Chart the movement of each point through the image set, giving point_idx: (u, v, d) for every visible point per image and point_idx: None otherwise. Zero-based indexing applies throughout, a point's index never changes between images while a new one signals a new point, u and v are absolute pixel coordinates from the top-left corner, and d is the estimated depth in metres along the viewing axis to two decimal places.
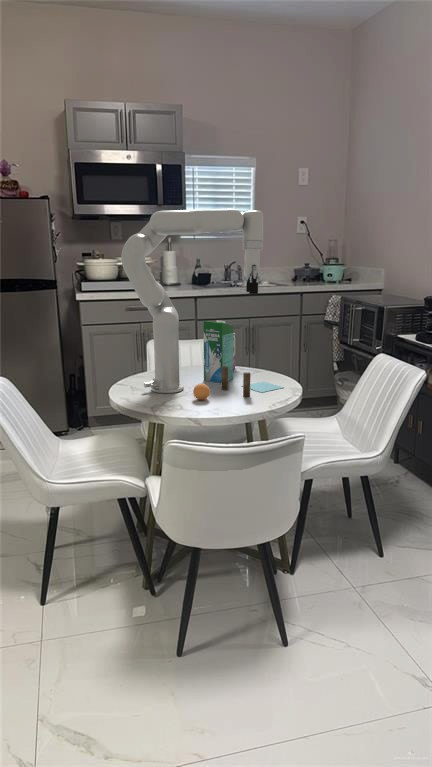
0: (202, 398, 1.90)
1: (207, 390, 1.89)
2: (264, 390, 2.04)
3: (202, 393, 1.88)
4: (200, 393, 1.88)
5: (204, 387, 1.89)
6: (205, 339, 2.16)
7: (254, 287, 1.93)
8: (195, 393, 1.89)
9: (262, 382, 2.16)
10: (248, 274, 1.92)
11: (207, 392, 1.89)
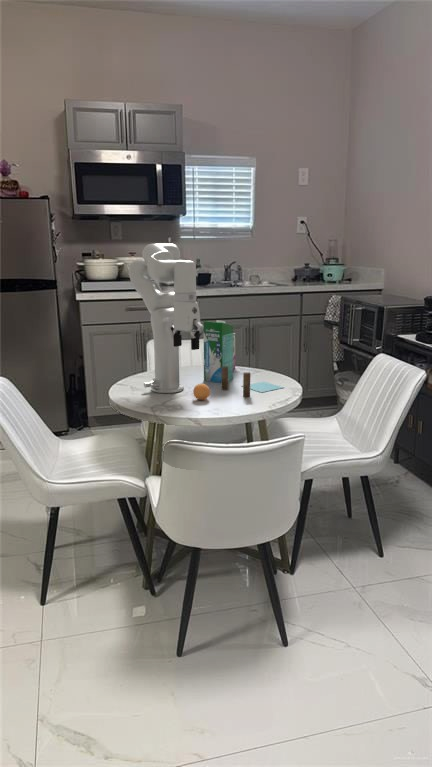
0: (202, 398, 1.90)
1: (207, 390, 1.89)
2: (264, 390, 2.04)
3: (202, 393, 1.88)
4: (200, 393, 1.88)
5: (204, 387, 1.89)
6: (205, 339, 2.16)
7: None
8: (195, 393, 1.89)
9: (262, 382, 2.16)
10: None
11: (207, 392, 1.89)
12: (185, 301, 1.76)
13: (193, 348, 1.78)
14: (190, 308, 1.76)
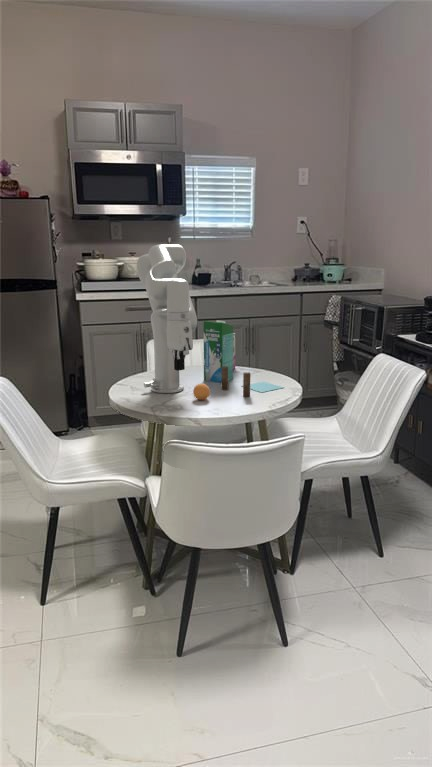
0: (202, 398, 1.90)
1: (207, 390, 1.89)
2: (264, 390, 2.04)
3: (202, 393, 1.88)
4: (200, 393, 1.88)
5: (204, 387, 1.89)
6: (205, 339, 2.16)
7: None
8: (195, 393, 1.89)
9: (262, 382, 2.16)
10: None
11: (207, 392, 1.89)
12: (177, 320, 1.75)
13: (178, 369, 1.81)
14: (182, 327, 1.75)
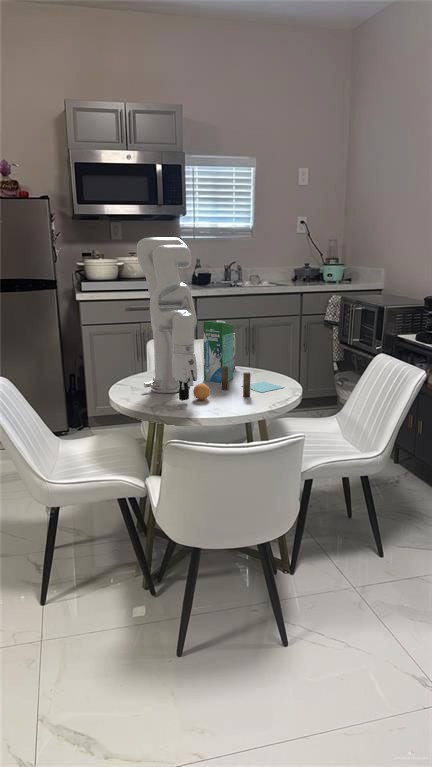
0: (202, 398, 1.90)
1: (207, 390, 1.89)
2: (264, 390, 2.04)
3: (202, 393, 1.88)
4: (200, 393, 1.88)
5: (204, 387, 1.89)
6: (205, 339, 2.16)
7: None
8: (195, 393, 1.89)
9: (262, 382, 2.16)
10: None
11: (207, 392, 1.89)
12: (182, 353, 1.79)
13: (182, 399, 1.86)
14: (186, 360, 1.79)
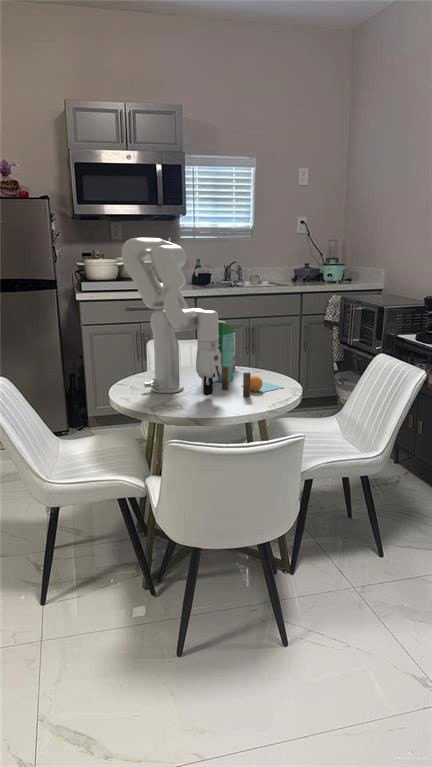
0: (253, 385, 2.00)
1: (261, 386, 2.02)
2: (264, 390, 2.04)
3: (257, 382, 2.00)
4: (256, 380, 2.00)
5: None
6: None
7: None
8: (253, 377, 2.01)
9: (262, 382, 2.16)
10: None
11: (259, 387, 2.01)
12: (207, 349, 1.85)
13: (207, 394, 1.92)
14: (212, 356, 1.85)
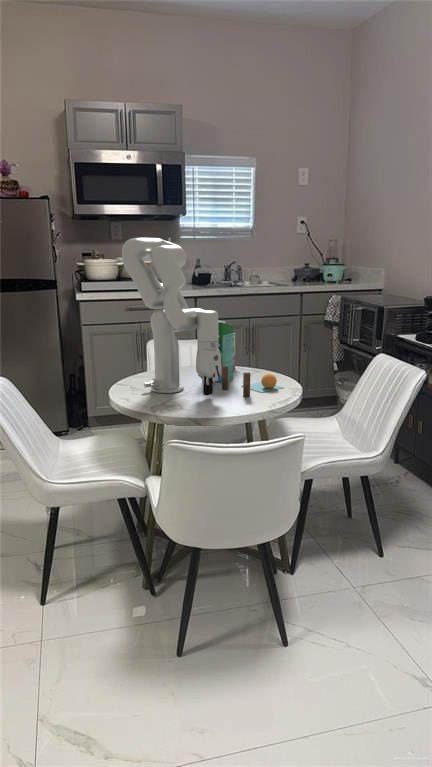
0: (275, 377, 2.05)
1: (270, 384, 2.04)
2: (264, 390, 2.04)
3: (275, 383, 2.05)
4: None
5: (270, 387, 2.05)
6: None
7: None
8: None
9: None
10: None
11: (271, 382, 2.04)
12: (207, 349, 1.85)
13: (207, 394, 1.92)
14: (212, 356, 1.85)
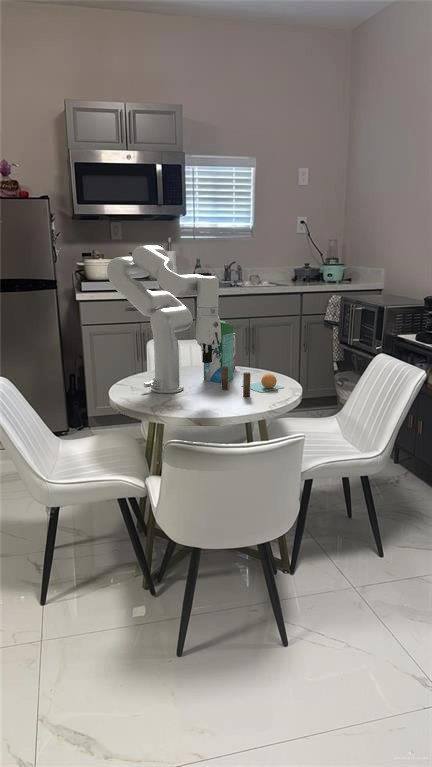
0: (275, 377, 2.05)
1: (270, 384, 2.04)
2: (264, 390, 2.04)
3: (275, 383, 2.05)
4: None
5: (270, 387, 2.05)
6: None
7: None
8: None
9: None
10: None
11: (271, 382, 2.04)
12: (207, 315, 1.83)
13: (206, 362, 1.89)
14: (211, 322, 1.83)
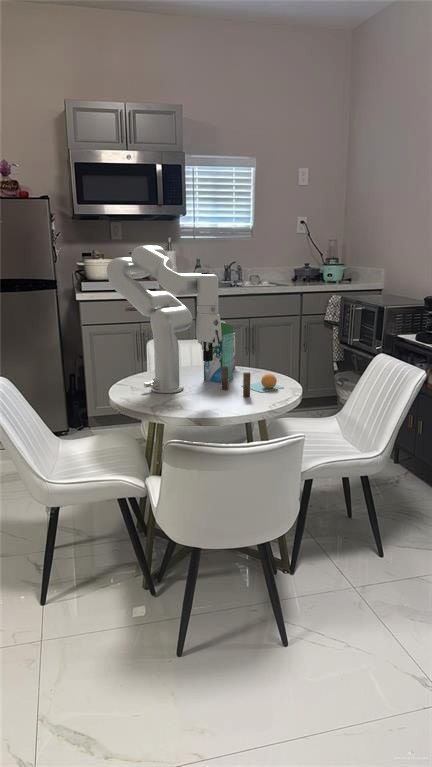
0: (275, 377, 2.05)
1: (270, 384, 2.04)
2: (264, 390, 2.04)
3: (275, 383, 2.05)
4: None
5: (270, 387, 2.05)
6: None
7: None
8: None
9: None
10: None
11: (271, 382, 2.04)
12: (207, 313, 1.82)
13: (206, 360, 1.89)
14: (212, 320, 1.82)
